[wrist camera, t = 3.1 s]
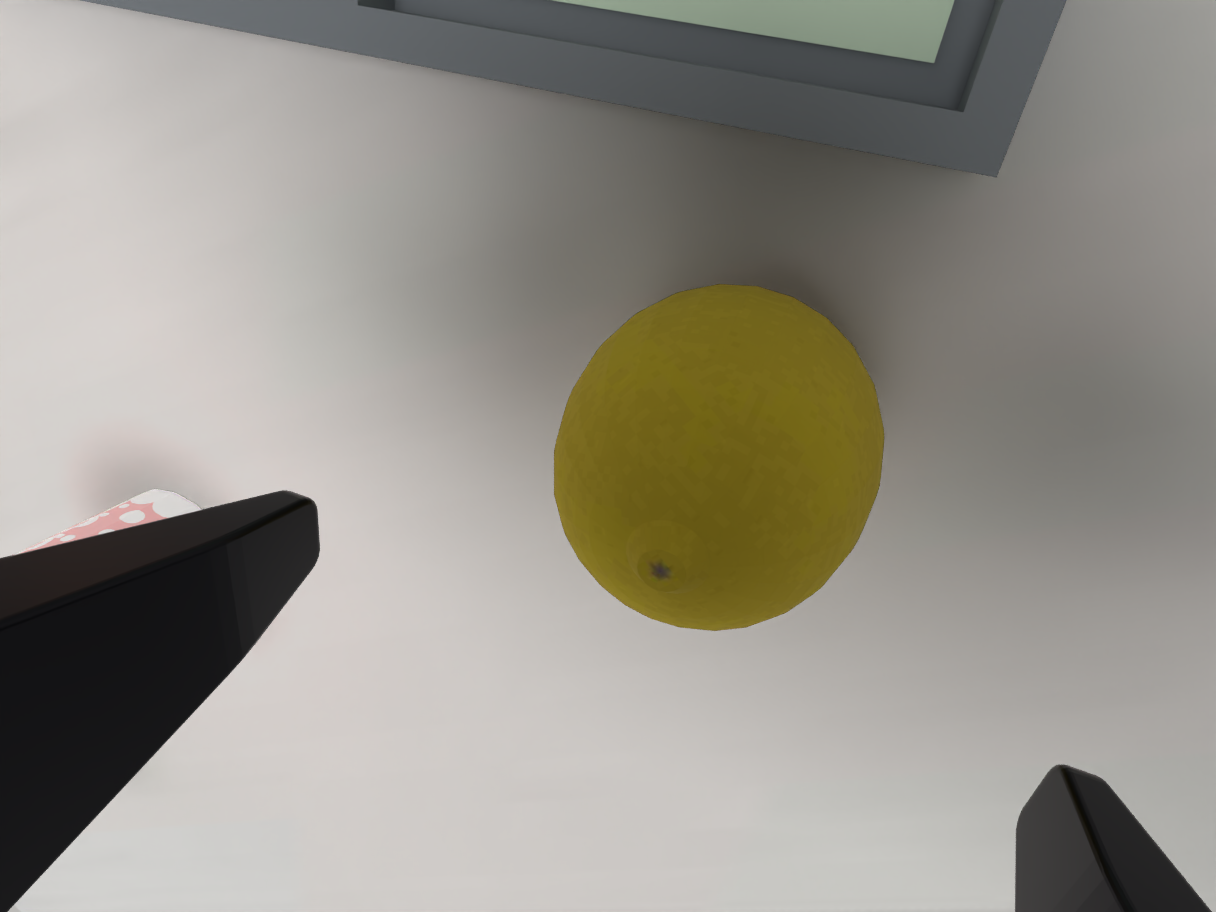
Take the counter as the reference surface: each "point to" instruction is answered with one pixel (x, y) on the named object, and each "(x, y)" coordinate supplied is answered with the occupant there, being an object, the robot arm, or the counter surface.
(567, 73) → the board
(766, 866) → the counter surface
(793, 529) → the lemon
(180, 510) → the beverage cup
